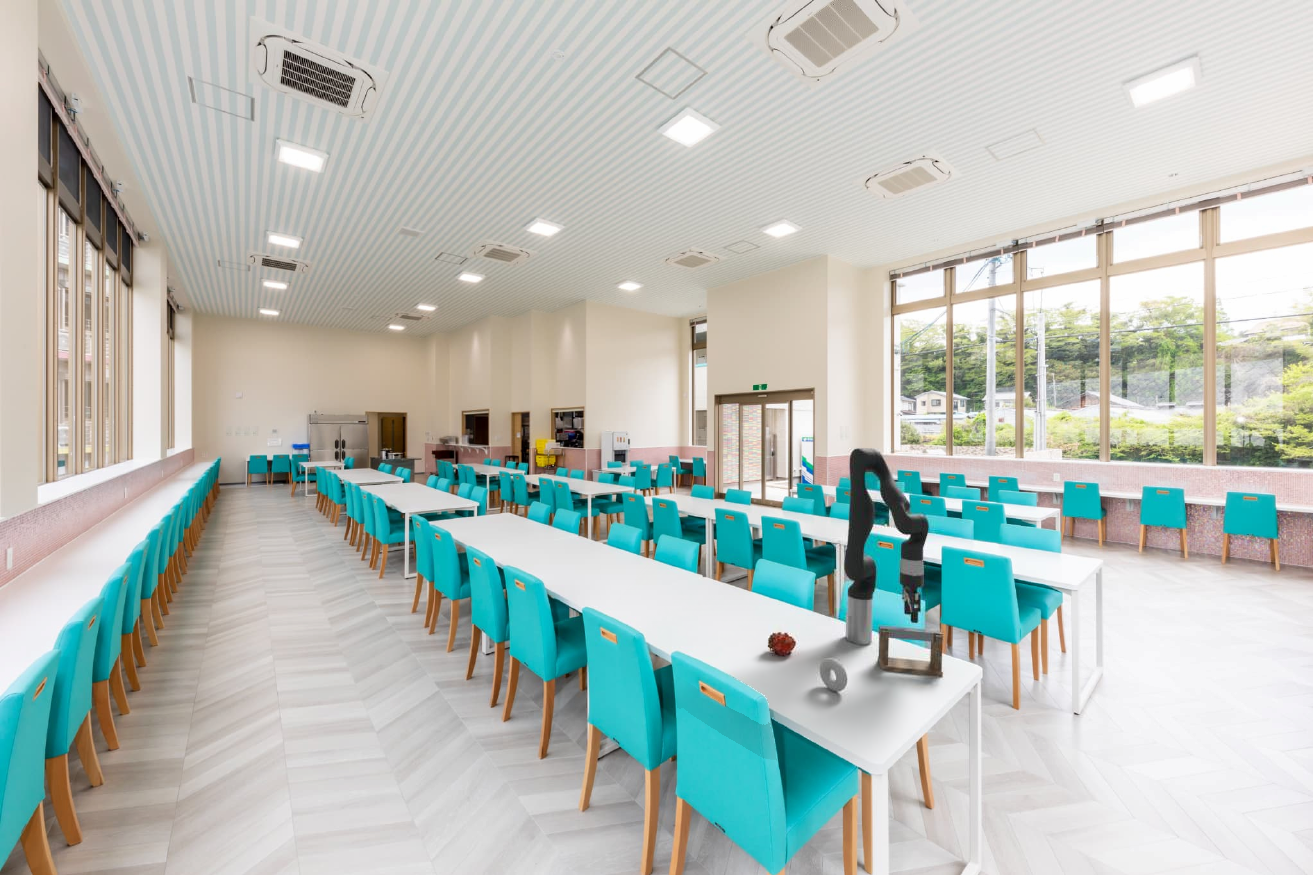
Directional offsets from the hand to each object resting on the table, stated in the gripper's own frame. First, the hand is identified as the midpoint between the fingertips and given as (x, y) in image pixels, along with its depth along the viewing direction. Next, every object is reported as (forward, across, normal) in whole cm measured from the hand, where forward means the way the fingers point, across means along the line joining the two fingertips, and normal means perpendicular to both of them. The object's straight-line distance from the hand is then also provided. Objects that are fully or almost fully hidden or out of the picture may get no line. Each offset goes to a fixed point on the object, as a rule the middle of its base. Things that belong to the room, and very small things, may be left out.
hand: (910, 618), depth 185 cm
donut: (+18, +23, -28) cm, 40 cm away
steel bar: (+7, 0, 0) cm, 7 cm away
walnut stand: (+17, 0, 0) cm, 17 cm away
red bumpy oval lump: (+17, -2, -43) cm, 47 cm away
